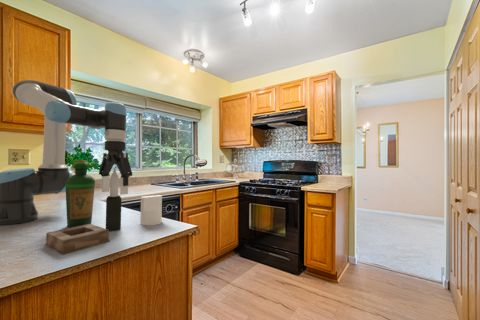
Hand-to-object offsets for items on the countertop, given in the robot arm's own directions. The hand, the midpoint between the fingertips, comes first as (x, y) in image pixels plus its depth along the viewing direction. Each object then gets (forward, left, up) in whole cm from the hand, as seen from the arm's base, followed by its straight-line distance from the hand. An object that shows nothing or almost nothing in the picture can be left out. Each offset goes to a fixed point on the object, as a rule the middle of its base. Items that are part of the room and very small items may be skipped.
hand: (114, 193), depth 91 cm
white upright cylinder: (+4, +15, -15) cm, 22 cm away
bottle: (-17, -5, -15) cm, 23 cm away
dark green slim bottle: (0, 0, -15) cm, 15 cm away
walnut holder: (+6, -15, -15) cm, 22 cm away
